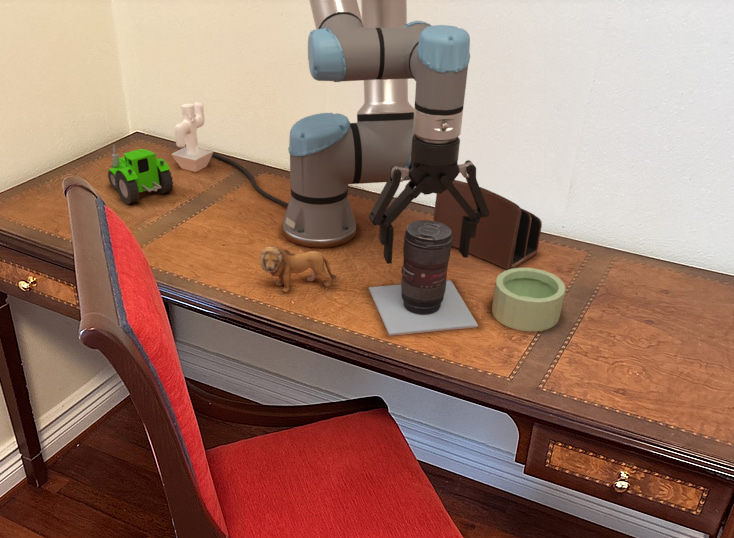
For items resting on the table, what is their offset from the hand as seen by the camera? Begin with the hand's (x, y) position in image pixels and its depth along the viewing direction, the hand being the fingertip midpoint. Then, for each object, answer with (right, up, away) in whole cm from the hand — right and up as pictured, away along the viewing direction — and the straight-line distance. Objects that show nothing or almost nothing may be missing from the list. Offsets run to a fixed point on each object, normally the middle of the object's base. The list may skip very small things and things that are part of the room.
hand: (425, 257), depth 138 cm
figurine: (-51, +31, +55) cm, 82 cm away
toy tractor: (-61, +22, +43) cm, 78 cm away
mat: (0, -8, +6) cm, 10 cm away
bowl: (+18, -9, +6) cm, 21 cm away
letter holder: (+14, +7, +26) cm, 30 cm away
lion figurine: (-23, -4, +11) cm, 26 cm away
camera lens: (0, -8, +6) cm, 10 cm away
